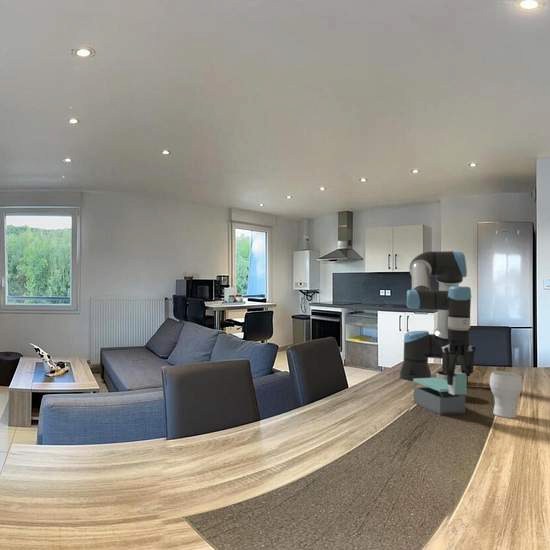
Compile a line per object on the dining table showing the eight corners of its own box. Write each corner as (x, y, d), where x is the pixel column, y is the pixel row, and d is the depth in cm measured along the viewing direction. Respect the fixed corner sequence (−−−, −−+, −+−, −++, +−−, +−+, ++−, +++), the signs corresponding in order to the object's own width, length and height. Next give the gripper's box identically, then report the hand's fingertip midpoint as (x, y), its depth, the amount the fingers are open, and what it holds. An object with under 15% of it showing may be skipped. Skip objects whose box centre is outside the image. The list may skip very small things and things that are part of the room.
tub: (413, 402, 176) (414, 387, 176) (437, 401, 179) (437, 386, 179) (439, 415, 160) (440, 398, 160) (465, 413, 164) (465, 396, 164)
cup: (525, 420, 156) (526, 378, 156) (493, 417, 159) (494, 376, 159) (515, 411, 167) (516, 372, 167) (485, 409, 169) (486, 370, 169)
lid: (413, 381, 176) (413, 363, 176) (437, 379, 179) (438, 362, 179) (447, 394, 156) (447, 375, 156) (474, 393, 160) (475, 373, 160)
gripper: (445, 330, 154) (444, 397, 154) (485, 329, 159) (484, 395, 159) (432, 327, 161) (430, 392, 161) (470, 327, 166) (469, 389, 166)
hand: (457, 393), depth 160 cm, fingers closed on lid, 4 cm apart
